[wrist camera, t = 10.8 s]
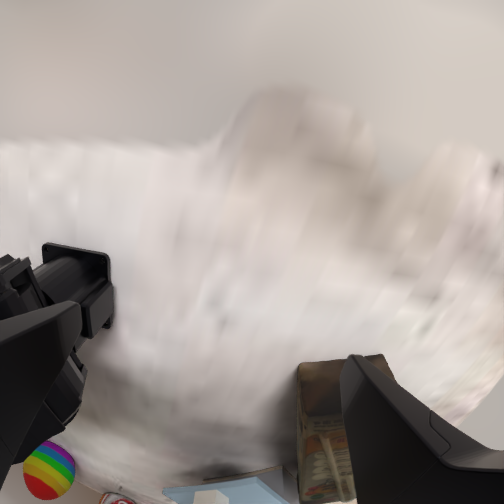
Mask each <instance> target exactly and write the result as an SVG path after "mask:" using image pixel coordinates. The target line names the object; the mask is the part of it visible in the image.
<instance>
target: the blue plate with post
mask: <svg viewBox="0 0 504 504" xmlns="http://www.w3.org/2000/svg"><path fill="white" fill-rule="evenodd" d="M162 494H164V495H165V496H167V497H169V498H170V499H172V500H173V501H175V502H176V503H178V504H290V503H288V502H287V501H286V500H284V499H283V498H282V497H281V496H279V495H278V494H277V493H276V492H274V491H273V490H272V489H271V488H269V487H268V486H267V485H266V484H265V483H263V482H262V481H261V480H260V479H259V478H258V477H252V478H246V479H241V480H235V481H228V482H222V483H214V484H206V485H197V486H186V487H172V488H164V489H163V493H162Z"/></svg>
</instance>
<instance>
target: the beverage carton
mask: <svg viewBox="0 0 504 504" xmlns="http://www.w3.org/2000/svg"><path fill="white" fill-rule="evenodd" d="M364 358H366V359H367V360H368V361H369V362H371V363H372V364H373V365H375V366H376V367H377V368H378V369H380V370H381V371H382V372H383V373H385V374H386V375H387V376H388V377H390V378H391V379H392V380H394V381H395V382H396V383H397V381H396V380H395V378H394V375H393V373H392V371H391V370H390V368H389V366H388V363H387V361H386V359H385V357H384V355H383V354H378V355H371V356H365V357H364ZM346 360H347V359H337V360H331V361H319V362H305V363H301V364H300V365H299V369H298V381H297V460H298V474H297V488H298V494H299V503H300V504H324V503H331V502H338V501H341V502H350V501H352V500H354V499H355V498H357V497H356V491H355V484H354V478H353V472H352V466H351V460H350V454H349V449H348V443H347V438H346V432H345V427H344V422H343V415H342V402H341V389H340V374H341V371H342V369H343V367H344V364H345V362H346ZM397 384H398V383H397Z"/></svg>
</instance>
